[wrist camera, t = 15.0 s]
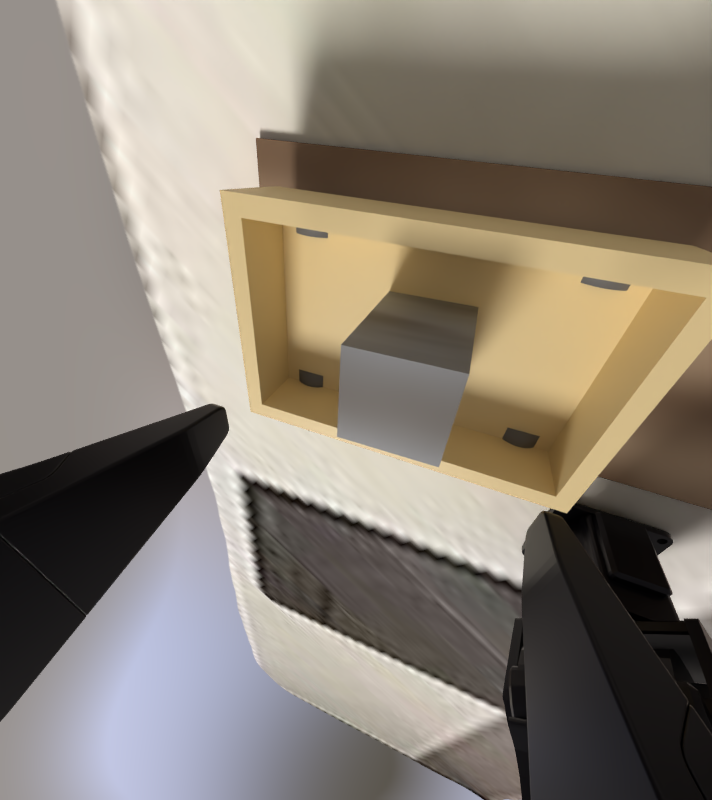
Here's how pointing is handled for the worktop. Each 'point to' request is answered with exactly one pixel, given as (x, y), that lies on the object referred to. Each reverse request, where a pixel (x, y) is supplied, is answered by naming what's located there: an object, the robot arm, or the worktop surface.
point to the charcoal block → (406, 375)
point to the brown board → (558, 206)
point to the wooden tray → (495, 328)
